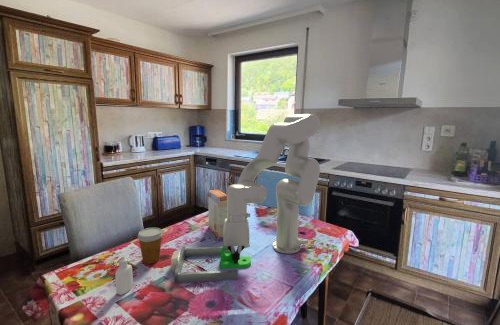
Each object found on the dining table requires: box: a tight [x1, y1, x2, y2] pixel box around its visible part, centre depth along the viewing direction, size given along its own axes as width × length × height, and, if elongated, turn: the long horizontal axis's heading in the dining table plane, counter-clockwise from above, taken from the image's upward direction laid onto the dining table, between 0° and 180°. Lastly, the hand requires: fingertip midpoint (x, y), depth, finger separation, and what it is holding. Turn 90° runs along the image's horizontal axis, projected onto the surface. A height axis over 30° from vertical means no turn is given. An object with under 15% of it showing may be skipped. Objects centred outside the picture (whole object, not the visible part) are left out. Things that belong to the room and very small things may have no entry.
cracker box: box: [207, 188, 227, 239], centre depth 133 cm, size 14×6×21 cm, turn 27°
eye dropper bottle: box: [114, 255, 134, 296], centre depth 87 cm, size 4×6×12 cm
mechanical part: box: [220, 246, 252, 269], centre depth 104 cm, size 12×6×8 cm, turn 96°
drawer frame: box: [170, 245, 239, 284], centre depth 102 cm, size 24×20×5 cm
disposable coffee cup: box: [137, 227, 164, 265], centre depth 106 cm, size 10×10×12 cm
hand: (235, 261), depth 103 cm, fingers closed
